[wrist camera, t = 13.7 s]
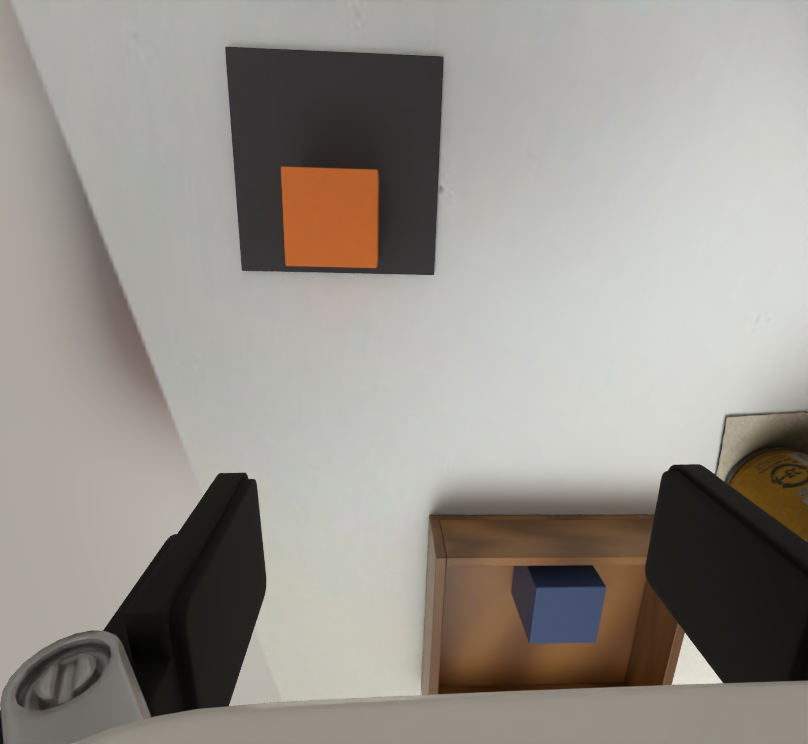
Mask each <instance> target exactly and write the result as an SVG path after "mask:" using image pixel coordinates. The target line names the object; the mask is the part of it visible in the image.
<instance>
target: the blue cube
mask: <svg viewBox="0 0 808 744" xmlns="http://www.w3.org/2000/svg"><path fill="white" fill-rule="evenodd" d="M511 593H512V596H513V599H514V602H515V605H516V608H517V610H518V613H519V616H520V619H521V622H522V625H523V627H524V630H525V633H526V636H527V639H528V642H529V644H547V643H596V641H597V636H598V630H599V625H600V620H601V614H602V609H603V603H604V598H605V593H606V585H605V584H604V582H603V581H602V579H601V577H600V576H599V574H598V573H597V571H596V569H595V568H594V566H593V565H562V566H514V573H513V582H512V590H511Z"/></svg>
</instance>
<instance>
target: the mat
mask: <svg viewBox="0 0 808 744" xmlns="http://www.w3.org/2000/svg"><path fill="white" fill-rule="evenodd" d="M225 49H226V63H227V76H228V90H229V103H230V116H231V130H232V143H233V157H234V170H235V183H236V197H237V210H238V223H239V237H240V250H241V264H242V270H243V271H282V272H327V273H372V274H417V275H434V262H435V239H436V216H437V193H438V170H439V147H440V125H441V102H442V79H443V57H440V56H418V55H396V54H373V53H351V52H329V51H306V50H284V49H262V48H239V47H226V48H225ZM282 166H285V167H316V168H346V169H377V170H378V175H379V245H378V266H377V268H353V267H308V266H286V265H285V246H284V226H283V205H282V184H281V167H282Z"/></svg>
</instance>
